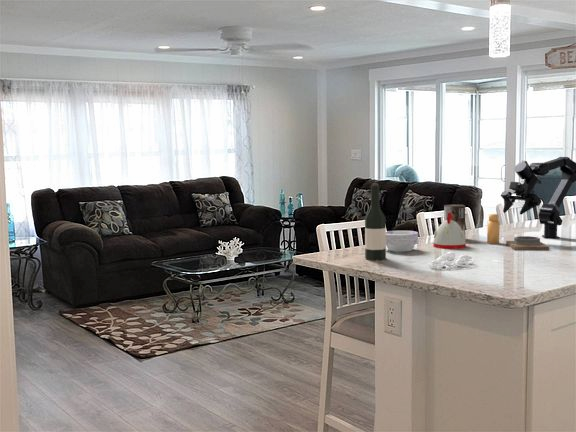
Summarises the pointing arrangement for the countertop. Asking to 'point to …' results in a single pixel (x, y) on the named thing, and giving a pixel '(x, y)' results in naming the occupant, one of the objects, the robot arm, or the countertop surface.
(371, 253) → the wine bottle
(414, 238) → the paper bowls
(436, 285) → the countertop surface
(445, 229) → the kitchen timer
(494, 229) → the wooden peg doll
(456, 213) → the coffee box
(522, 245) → the peg board base
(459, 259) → the crumpled white cloth
